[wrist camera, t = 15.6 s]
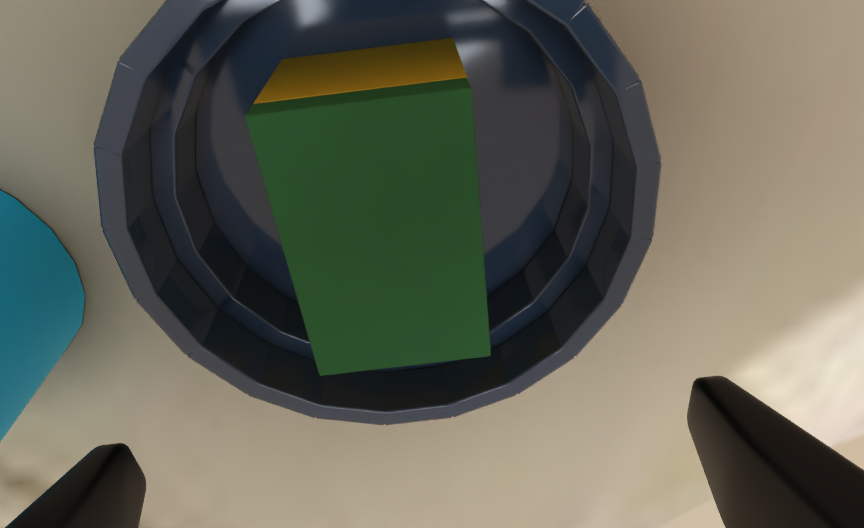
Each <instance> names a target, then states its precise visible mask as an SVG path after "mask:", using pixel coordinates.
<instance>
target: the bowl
mask: <svg viewBox="0 0 864 528" xmlns="http://www.w3.org/2000/svg"><path fill="white" fill-rule="evenodd" d="M447 38H453V40H454V42H455V45H456V48H457V50H458V53H459V56H460V59H461V62H462V64H463V67H464V70H465V73H466V75H467V78H468V81H469V84H470V87H471V89H472V101H473V115H474V129H475V142H476V156H477V170H478V183H479V197H480V211H481V224H482V238H483V252H484V265H485V279H486V293H487V306H488V320H489V334H490V347H491V355H490V356H487V357H478V358H469V359H461V360H452V361H444V362H435V363H426V364H418V365H409V366H401V367H392V368H383V369H375V370H366V371H358V372H349V373H340V374H332V375H323V376H320V375H319V372H318V369H317V365H316V362H315V358H314V355H313V351H312V348H311V345H310V341H309V338H308V334H307V331H306V327H305V324H304V320H303V317H302V313H301V310H300V306H299V303H298V299H297V296H296V292H295V289H294V285H293V282H292V279H291V275H290V272H289V268H288V265H287V261H286V258H285V254H284V251H283V247H282V244H281V240H280V237H279V233H278V230H277V226H276V223H275V219H274V216H273V213H272V209H271V206H270V202H269V199H268V195H267V192H266V188H265V185H264V181H263V178H262V174H261V171H260V167H259V164H258V160H257V157H256V154H255V150H254V147H253V143H252V140H251V136H250V133H249V129H248V126H247V122H246V119H245V116H246V114H247V113H248V111H249V110H250V108H251V107H252V105H253V104H254V102H255V100H256V99H257V97H258V96H259V94H260V92H261V91H262V89H263V88H264V86H265V85H266V83H267V82H268V80H269V79H270V77H271V75H272V74H273V72H274V71H275V69H276V68H277V66H278V65H279V63H280V62H281V60H282V59H288V58H296V57H304V56H312V55H319V54H327V53H335V52H343V51H351V50H359V49H367V48H375V47H383V46H391V45H399V44H407V43H415V42H423V41H431V40H439V39H447ZM94 146H95V147H94V155H95V165H96V175H97V185H98V196H99V206H100V216H101V227H102V228H103V233H104V235H105V237H106V239H107V241H108V243H109V246H110V248H111V250H112V252H113V254H114V256H115V258H116V260H117V263H118V265H119V267H120V269H121V271H122V273H123V275H124V277H125V280H126V282H127V284H128V286H129V288H130V290H131V292H132V294H133V297H134V298H135V299H137V302H138V304H139V305H140V306H141V307H142V308H143V309H144V310H145V311H146V312H147V313H148V315H149V316H150V317H151V318H152V319H153V320H154V321H155V322H156V323H157V324H158V325H159V327H160V328H161V329H162V330H163V331H164V332H165V333H166V334H167V335H168V336H169V338H170V339H171V340H172V341H173V342H174V343H175V344H176V345H177V346H178V347H179V348H180V350H181V351H182V352H183V353H184V354H186V355H187V356H188V357H189V358H190V359H192V360H194V361H195V362H197V363H198V364H200V365H201V366H203V367H205V368H206V369H208V370H209V371H211V372H212V373H214V374H216V375H217V376H219V377H220V378H222V379H223V380H225V381H227V382H228V383H230V384H231V385H233V386H234V387H236V388H238V389H239V390H241V391H242V392H244V393H245V394H248V395H249V396H251V397H254V398H257V399H260V400H263V401H266V402H269V403H272V404H275V405H278V406H281V407H283V408H286V409H289V410H292V411H295V412H298V413H301V414H304V415H307V416H310V417H313V418H315V417H316V418H319V419H329V420H338V421H347V422H357V423H366V424H376V425H384V424H385V425H392V424H401V423H410V422H418V421H427V420H436V419H445V418H451V417H452V416H453V417H456V416H459V415H462V414H464V413H467V412H470V411H473V410H476V409H479V408H482V407H484V406H487V405H490V404H493V403H496V402H499V401H501V400H504V399H507V398H510V397H513V396H515V395H516V394H520V393H521V392H523V391H524V390H526V389H527V388H529V387H530V386H532V385H533V384H535V383H536V382H538V381H540V380H541V379H543V378H544V377H546V376H547V375H549V374H550V373H552V372H553V371H555V370H556V369H558V368H560V367H561V366H563V365H564V364H566V363H567V362H569V361H570V360H572V359H573V358H574V356H577V355H578V354H579V353H580V351H581V350H582V349H583V348H584V347H585V346H586V345H587V344H588V342H589V341H590V340H591V339H592V338H593V337H594V336H595V335H596V334H597V332H598V331H599V330H600V329H601V328H602V327H603V326H604V325H605V324H606V322H607V321H608V320H609V319H610V318H611V317H612V316H613V315H614V313H615V312H616V311H617V310H618V309H619V308H620V307H621V304H622V303H623V302H624V300H625V298H626V296H627V294H628V291H629V289H630V287H631V285H632V283H633V281H634V279H635V276H636V274H637V272H638V270H639V268H640V266H641V264H642V261H643V259H644V257H645V255H646V253H647V251H648V249H649V246H650V244H651V242H652V238H653V234H654V225H655V216H656V206H657V197H658V188H659V179H660V170H661V162H660V161H661V157H660V153H659V149H658V145H657V141H656V137H655V133H654V129H653V125H652V121H651V117H650V113H649V109H648V105H647V101H646V97H645V93H644V89H643V85H642V81H641V80H640V79H639V75H638V73H637V72H636V71H635V69H634V68H633V66H632V65H631V64H630V62H629V61H628V59H627V58H626V56H625V55H624V54H623V52H622V51H621V49H620V48H619V47H618V45H617V44H616V42H615V41H614V39H613V38H612V37H611V35H610V34H609V32H608V31H607V29H606V28H605V27H604V25H603V24H602V22H601V21H600V20H599V18H598V17H597V15H596V14H595V12H594V11H593V10H592V8H591V7H590V5H589V4H588V3H587V2H585V1H584V0H166V1H165V2H164V3H163V5H162V6H161V7H160V8H159V10H158V11H157V12H156V13H155V15H154V16H153V17H152V18H151V20H150V21H149V22H148V23H147V25H146V26H145V27H144V28H143V29H142V31H141V32H140V33H139V34H138V36H137V37H136V38H135V39H134V41H133V42H132V43H131V44H130V46H129V47H128V48H127V49H126V50H125V52H124V53H123V54H122V55H121V57H120V60H119V61H118V63H117V66H116V69H115V73H114V76H113V80H112V83H111V87H110V90H109V94H108V97H107V100H106V104H105V107H104V111H103V114H102V118H101V121H100V125H99V128H98V131H97V135H96V138H95V142H94Z"/></svg>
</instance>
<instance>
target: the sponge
mask: <svg viewBox="0 0 864 528" xmlns="http://www.w3.org/2000/svg"><path fill="white" fill-rule="evenodd" d="M245 119H246V122H247V126H248V129H249V133H250V136H251V140H252V143H253V147H254V150H255V154H256V157H257V160H258V164H259V167H260V171H261V174H262V178H263V181H264V185H265V188H266V192H267V195H268V199H269V202H270V206H271V209H272V213H273V216H274V219H275V223H276V226H277V230H278V233H279V237H280V240H281V244H282V247H283V251H284V254H285V258H286V261H287V265H288V268H289V272H290V275H291V279H292V282H293V285H294V289H295V292H296V296H297V299H298V303H299V306H300V310H301V313H302V317H303V320H304V324H305V327H306V331H307V334H308V338H309V341H310V345H311V348H312V351H313V355H314V358H315V362H316V365H317V369H318V372H319V375H320V376H323V375H332V374H340V373H349V372H358V371H366V370H375V369H383V368H392V367H401V366H409V365H418V364H426V363H435V362H444V361H452V360H461V359H469V358H478V357H487V356H490V355H491V347H490V334H489V320H488V306H487V293H486V279H485V265H484V252H483V238H482V224H481V211H480V197H479V183H478V170H477V156H476V142H475V129H474V115H473V101H472V89H471V87H470V84H469V81H468V78H467V75H466V73H465V70H464V67H463V64H462V62H461V59H460V56H459V53H458V50H457V48H456V45H455V42H454V40H453V38H447V39H439V40H431V41H423V42H415V43H407V44H399V45H391V46H383V47H375V48H367V49H359V50H351V51H343V52H335V53H327V54H319V55H312V56H304V57H296V58H288V59H282V60H281V62H280V63H279V65H278V66H277V68H276V69H275V71H274V72H273V74H272V75H271V77H270V79H269V80H268V82H267V83H266V85H265V86H264V88H263V89H262V91H261V92H260V94H259V96H258V97H257V99H256V100H255V102H254V104H253V105H252V107H251V108H250V110H249V111H248V113H247V114H246V116H245Z"/></svg>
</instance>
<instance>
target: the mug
mask: <svg viewBox="0 0 864 528" xmlns="http://www.w3.org/2000/svg"><path fill="white" fill-rule="evenodd" d="M84 302H85V293H84V290H83V287H82V284H81V280H80V277H79V274H78V271H77V268H76V264H75V262H74V261H73V259H72V258H71V257H70V255H69V254H68V252H67V251H66V249H65V248H64V247H63V245H62V244H61V242H60V241H59V240H58V238H57V237H56V235H55V234H54V233H53V231H52V230H51V229H50V228H49V227H48V226H47V225H46V224H44V223H43V222H42V221H41V220H40V219H39V218H37V217H36V216H35V215H34V214H33V213H32V212H30V211H29V210H28V209H27V208H26V207H25V206H23V205H22V204H21V203H20V202H19V201H18V200H16V199H15V198H14V197H12V196H10V195H8V194H6V193H4V192H2V191H0V442H1V440H2V439H3V437H4V436H5V435H6V433H7V432H8V430H9V429H10V428H11V426H12V425H13V423H14V422H15V421H16V419H17V418H18V416H19V415H20V413H21V412H22V411H23V409H24V408H25V406H26V405H27V404H28V402H29V401H30V399H31V398H32V397H33V395H34V394H35V392H36V391H37V389H38V388H39V387H40V385H41V384H42V382H43V381H44V380H45V378H46V377H47V375H48V374H49V373H50V371H51V370H52V368H53V367H54V365H55V364H56V363H57V361H58V360H59V358H60V357H61V356H62V354H63V353H64V351H65V350H66V348H67V347H68V346H69V344H70V342H71V341H72V339H73V338H74V336H75V335H76V333H77V331H78V330H79V328H80V327H81V325H82V321H83V312H84Z"/></svg>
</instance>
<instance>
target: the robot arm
mask: <svg viewBox="0 0 864 528" xmlns="http://www.w3.org/2000/svg"><path fill="white" fill-rule="evenodd" d="M687 421H688V427H689V430H690V433H691V436H692V439H693V441H694V444H695V447H696V450H697V452H698V455H699V458H700V461H701V464H702V466H703V469H704V472H705V475H706V477H707V480H708V483H709V486H710V489H711V491H712V494H713V497H714V500H715V502H716V505H717V508H718V510H719V513H720V516H721V518H722V520H723V523H724V525H725V527H726V528H864V470H863V469H861V468H860V467H858V466H857V465H855V464H854V463H852V462H851V461H849V460H848V459H846V458H845V457H843V456H842V455H840V454H839V453H838V452H836V451H835V450H833V449H832V448H830V447H829V446H827V445H826V444H824V443H823V442H821V441H820V440H818V439H817V438H815V437H814V436H812V435H811V434H809V433H808V432H806V431H805V430H803V429H802V428H800V427H799V426H797V425H796V424H794V423H793V422H791V421H790V420H788V419H787V418H785V417H784V416H782V415H781V414H779V413H778V412H776V411H775V410H773V409H772V408H770V407H769V406H767V405H766V404H764V403H763V402H761V401H760V400H758V399H757V398H755V397H754V396H753V395H751V394H750V393H748V392H747V391H745V390H744V389H742V388H741V387H739V386H738V385H736V384H735V383H733V382H732V381H730V380H729V379H727V378H725V377H723V376H711V377H702V378H697V379H696V380H695V381H694V382H693V386H692V391H691V396H690V402H689V407H688V413H687ZM145 492H146V479H145V476H144V473H143V472H142V470H141V468H140V466H139V465H138V463H137V461H136V459H135V458H134V456H133V454H132V452H131V451H130V449H129V447H128V446H126V445H125V444H122V443H118V444H109V445H101V446H98V447H96V448H94V449H93V450H92V451H91V452H89V453H88V454H87V455H86V456H85V457H84V458H83V459H82V460H80V461H79V462H78V463H77V464H76V465H75V466H74V467H73V468H71V469H70V470H69V471H68V472H67V473H66V474H65V475H64V476H63V477H61V478H60V479H59V480H58V481H57V482H56V483H55V484H54V485H52V486H51V487H50V488H49V489H48V490H47V491H46V492H45V493H43V494H42V495H41V496H40V497H39V498H38V499H37V500H36V501H34V502H33V503H32V504H31V505H30V506H29V507H28V508H27V509H26V510H24V511H23V512H22V513H21V514H20V515H19V516H18V517H17V518H15V519H14V520H13V521H12V522H11V523H10V524H9V525H8V526H6V527H5V528H138V526H139V521H140V516H141V512H142V507H143V502H144V497H145Z"/></svg>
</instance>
